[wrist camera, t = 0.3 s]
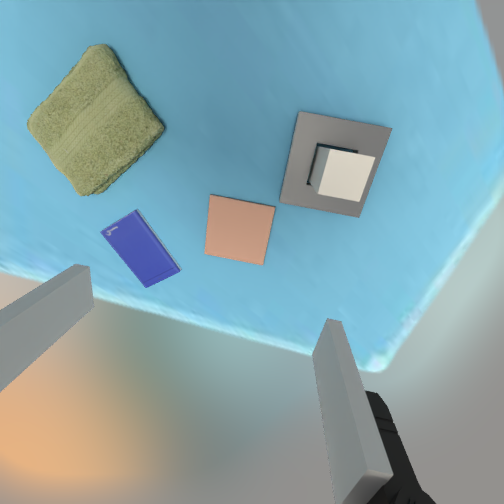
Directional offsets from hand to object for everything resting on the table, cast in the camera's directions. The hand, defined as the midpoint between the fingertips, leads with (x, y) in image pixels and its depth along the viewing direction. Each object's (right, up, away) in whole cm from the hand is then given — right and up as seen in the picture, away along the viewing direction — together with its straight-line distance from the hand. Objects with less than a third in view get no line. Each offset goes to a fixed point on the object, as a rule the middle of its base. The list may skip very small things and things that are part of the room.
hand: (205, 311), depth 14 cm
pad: (0, +7, +26) cm, 27 cm away
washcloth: (-19, +21, +22) cm, 36 cm away
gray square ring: (+13, +15, +21) cm, 29 cm away
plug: (+13, +15, +21) cm, 29 cm away
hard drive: (-16, +4, +30) cm, 34 cm away
